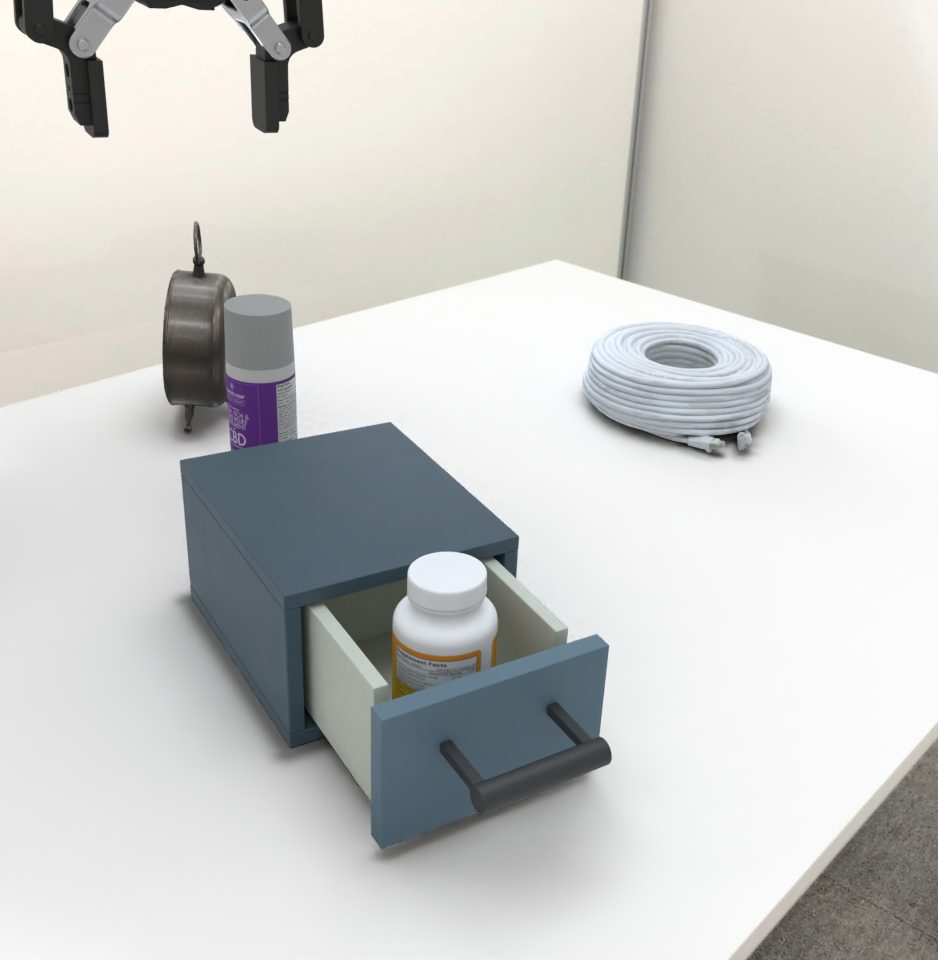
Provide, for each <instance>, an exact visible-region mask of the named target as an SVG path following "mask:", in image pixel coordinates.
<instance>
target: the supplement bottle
mask: <svg viewBox="0 0 938 960" xmlns="http://www.w3.org/2000/svg"><path fill="white" fill-rule="evenodd" d="M486 593H487V571H486V568H485V566H484V565H483V564H482V562H481V561H479V560H478V559H476V558H474V557H472V556H470V555H467V554H463V553H458V552H436V553H431V554H427V555H424V556H422V557H420V558H418V559H417V560H415V561H414V562H413V563H412V564H411V565H410V567H409V569H408V574H407V596H406V597H404V598H403V599H402V600H401V601H400V603H399V604H398V605H397V607H396V609H395V611H394V615H393V625H392V700H393V699H396V698H399V697H402V696H405V695H408V694H411V693H415V692H418V691H421V690H424V689H427V688H430V687H433V686H436V685H439V684H442V683H446V682H449V681H452V680H455V679H458V678H461V677H464V676H467V675H470V674H473V673H477V672H480V671H483V670H486V669H489V668H492V667H495V666H496V650H497V634H498V617H497V612H496V609H495V607H494V605H493V604H492V602H491V601H490V600H489V599H488V598H487V597H486Z"/></svg>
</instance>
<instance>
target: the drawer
mask: <svg viewBox="0 0 938 960" xmlns="http://www.w3.org/2000/svg"><path fill="white" fill-rule="evenodd" d="M479 561H481V562H482V564H483V565H484V566H485V568H486V571H487V593H486V597H487V598H488V599H489V600H490V601H491V602H492V604H493V605H494V607H495V609H496V612H497V617H498V634H497V650H496V666H495V667H492V668H489V669H486V670H483V671H480V672H477V673H473V674H470V675H467V676H464V677H461V678H458V679H455V680H452V681H449V682H446V683H442V684H439V685H436V686H433V687H430V688H427V689H424V690H421V691H418V692H415V693H411V694H408V695H405V696H402V697H399V698H396V699H393V700H392V625H393V615H394V611H395V609H396V607H397V605H398V604H399V603H400V601H401V600H402V599H403V598H404V597H406V596H407V579H404V580H400V581H397V582H393V583H389V584H385V585H381V586H378V587H374V588H370V589H366V590H362V591H359V592H355V593H351V594H347V595H343V596H340V597H336V598H332V599H328V600H324V601H321V602H317V603H313V604H309V605H305V606H302V607H301V628H302V657H303V687H304V706H305V708H306V709H307V711H308V712H309V714H310V715H311V716H312V718H313V719H314V721H315V722H316V724H317V725H318V727H319V728H320V729H321V731H322V732H323V734H324V735H325V738H326V739H327V742H329V744H330V745H331V746H332V749H334V751H335V752H336V754H337V755H338V757H339V758H340V760H341V761H342V762H343V764H344V766H345V767H346V769H347V770H348V772H350V774H351V775H352V777H353V779H354V780H355V782H357V785H359V787H360V788H361V790H362V791H363V792H364V794H365V796H366V797H367V798H368V800H369V801H370V836H371V837H372V838H373V840H374V841H375V843H376V844H377V846H378V847H379V849H380V850H384V849H387V848H390V847H392V846H395V845H397V844H400V843H403V842H404V841H407V840H410V839H412V838H415V837H417V836H421V835H422V834H425V833H428V832H430V831H432V830H436V829H438V828H439V827H442V826H445V825H448V824H451V823H453V822H455V821H458V820H460V819H462V818H465V817H469V816H471V815H473V814H476V813H477V814H479V815H480V816H483V815H485V814H488V813H491V812H493V811H496V810H498V809H500V808H504V807H506V806H508V805H511V804H513V803H516V802H519V801H521V800H523V799H526V798H528V797H531V796H533V795H535V794H539V793H541V792H543V791H546V790H549V789H551V788H554V787H556V786H558V785H561V784H564V783H566V782H568V781H571V780H574V779H576V778H578V777H580V776H584V775H586V774H588V773H591V772H593V771H596V770H599V769H601V768H603V767H606V766H608V765H610V764H611V762H612V759H613V755H612V750H611V747H610V745H609V743H608V741H607V740H606V739H605V738H604V737H602V736H600V734H601V725H602V716H603V708H604V697H605V687H606V678H607V671H608V670H607V669H608V661H609V652H610V645H609V643H607V642H606V641H605V640H604V639H603V638H602V637H601V636H600V635H599V634H597V633H595V634H592V635H589V636H585V637H582V638H579V639H576V640H572V641H570V642H568V634H569V627H568V626H567V625H566V624H565V623H564V622H563V621H562V620H561V619H560V618H559V617H558V616H557V615H555V614H554V612H552V611H551V610H550V609H549V608H548V607H547V606H546V605H545V604H544V603H543V602H542V601H541V600H540V599H538V598H537V596H536V595H534V594H533V593H532V592H531V591H530V590H529V589H528V588H527V587H526V586H524V584H522V583H521V581H520V580H518V579H517V577H516V578H515V577H514V576H513V575H512V574H511V573H510V572H509V571H508V570H506V569H505V568H504V567H503V566H502V565H501V564H500V563H499V562H498V561H497V560H496V559H495V558H494V557H493V556H492V557H488V558H484V559H480V560H479Z"/></svg>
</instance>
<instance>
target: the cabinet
mask: <svg viewBox="0 0 938 960" xmlns="http://www.w3.org/2000/svg"><path fill="white" fill-rule="evenodd" d="M179 468H180V478H181V491H182V501H183V502H182V503H183V514H184V515H183V516H184V526H185V527H184V528H185V537H186V538H185V539H186V550H187V559H188V560H187V562H188V563H187V564H188V574H189V584H190V585H189V588H190V597H191V598H192V600H193V601H194V603H195V605H196V606H197V608H198V609H199V611H200V612H201V613H202V616H203V617H204V619H205V620H206V622H207V623H208V624H209V626H210V628H211V629H212V631H213V632H214V633H215V635H216V637H217V638H218V639H219V641H220V643H221V644H222V646H223V648H224V649H225V650H226V652H227V654H228V655H229V657H230V658H231V660H232V661H233V663H234V664H235V666H236V667H237V668H238V670H239V672H240V673H241V675H242V677H243V678H244V679H245V681H246V682H247V684H248V685H249V687H250V688H251V690H252V692H253V693H254V695H255V696H256V698H257V699H258V701H259V702H260V704H261V705H262V707H263V709H264V711H266V713H267V715H268V716H269V718H270V719H271V721H272V722H273V724H274V725H275V726H276V727H275V728H277V730H278V731H279V733H280V734H281V736H282V737H283V739H284V740H285V743H286V744H287V745H288V747H289V748H290V749H291V748H295V747H297V746H300V745H303V744H306V743H309V742H312V741H315V740H318V739H322V738H324V737H325V735H324V734H323V732H322V731H321V729H320V728H319V727H318V725H317V724H316V722H315V721H314V719H313V718H312V716H311V715H310V714H309V712H308V711H307V709H306V708H305V706H304V687H303V657H302V628H301V607H302V606H305V605H309V604H313V603H317V602H321V601H324V600H328V599H332V598H336V597H340V596H343V595H347V594H351V593H355V592H359V591H362V590H366V589H370V588H374V587H378V586H381V585H385V584H389V583H393V582H397V581H400V580H404V579H407V574H408V569H409V567H410V565H411V564H412V563H413V562H414V561H415V560H417V559H418V558H420V557H422V556H424V555H427V554H431V553H436V552H458V553H463V554H467V555H470V556H472V557H474V558H476V559H478V560H480V559H484V558H488V557H492V556H493V557H494V558H495V559H496V560H497V561H498V562H499V563H500V564H501V565H502V566H503V567H504V568H505V569H506V570H508V571H509V572H510V573H511V574H512V575H513V576H514V577H515V578H516V579H517V574H518V573H517V571H518V557H519V556H518V555H519V546H520V536H519V535H518V534H517V533H516V532H515V531H514V530H513V529H512V528H510V526H508V525H507V524H506V523H505V522H504V521H503V520H501V519H500V518H499V517H498V516H497V515H496V514H495V513H494V512H492V510H491V509H489V507H487V506H486V505H485V504H483V503H482V501H481V500H479V499H478V498H477V497H476V496H474V495H473V494H472V493H471V492H470V491H469V490H468V489H467V488H466V487H465V486H463V484H461V483H460V482H459V481H458V480H457V479H455V478H454V477H453V475H451V474H450V473H449V472H448V471H447V470H446V469H445V468H443V467H442V466H441V465H440V464H439V463H438V462H437V461H436V460H434V459H433V458H432V457H431V456H430V455H428V453H426V452H425V451H424V450H423V449H422V448H421V447H420V446H418V444H416V443H415V442H414V441H413V440H412V439H411V438H409V437H408V436H407V435H406V434H405V433H404V432H403V431H401V429H400V428H398V426H396V425H395V424H394V423H393V422H391V421H388V422H382V423H377V424H370V425H366V426H359V427H354V428H349V429H344V430H338V431H333V432H328V433H321V434H315V435H311V436H306V437H300V438H298V439H293V440H288V441H282V442H277V443H271V444H266V445H260V446H255V447H249V448H244V449H238V450H233V451H231V450H228V451H222V452H218V453H217V452H216V453H211V454H206V455H200V456H195V457H188V458H183V459H179ZM325 738H326V737H325Z"/></svg>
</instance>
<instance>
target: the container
mask: <svg viewBox="0 0 938 960" xmlns="http://www.w3.org/2000/svg"><path fill="white" fill-rule="evenodd" d="M292 311H293V309H292V303H291V302H290V300H289V299H286V298H285V297H281V296H278V295H273V294H264V293H248V294H242V295H241V294H240V295H236V297H233V298H230V299H228V300H227V301H226V302H225V303H224V329H225V359H226V383H227V399H228V403H227V412H228V426H229V427H228V430H229V446H230V451H233V450H238V449H244V448H249V447H255V446H260V445H266V444H271V443H277V442H282V441H288V440H293V439H299V438H298V437H299V436H298V413H297V412H298V411H297V409H298V408H297V379H296V376H297V375H296V360H295V343H294V328H293V312H292Z"/></svg>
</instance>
